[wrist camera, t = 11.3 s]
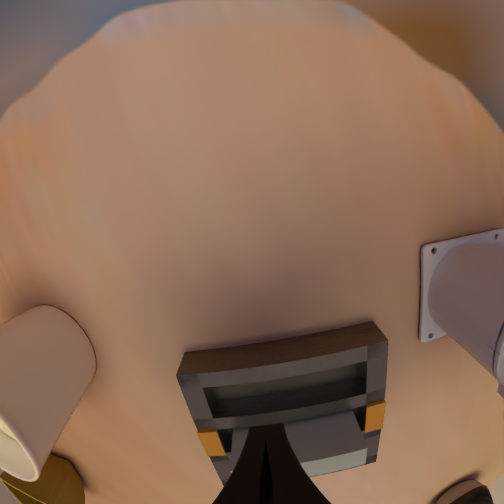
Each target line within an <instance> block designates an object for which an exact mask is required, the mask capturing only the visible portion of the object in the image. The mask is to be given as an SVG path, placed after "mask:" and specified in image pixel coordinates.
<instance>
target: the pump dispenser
mask: <svg viewBox="0 0 504 504" xmlns="http://www.w3.org/2000/svg"><path fill="white" fill-rule="evenodd" d="M436 504H494V503H493V500H492V497H491V494H490V492H489V490H488V488H487V486H486V485H483V484H481V483H480V482H478V481H475V480H468V481H464V482H461V483H458V484H457V485H455V486H453V487H452V488H450V489H449V490H447V491H446V492H445V493H444V494H443V495H442V496H441V497H440V498H439V500H438V501H437V503H436Z"/></svg>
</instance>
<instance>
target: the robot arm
mask: <svg viewBox="0 0 504 504" xmlns="http://www.w3.org/2000/svg"><path fill="white" fill-rule="evenodd" d="M494 237H495V238H494ZM432 248H434V251H433V253H431V250H432ZM430 333H431V335H430V336H428V335H429V334H430ZM445 335H449V336H450V337H452V338H453V339H454V340H455V341H456V342H457V343H458V344H459V345H461V346H462V347H463V348H464V349H465V350H466V351H467V352H468V353H469V354H470V355H471V356H473V357H474V358H475V359H476V360H477V361H478V362H479V363H480V364H481V365H482V366H483V367H484V368H485V369H486V370H487V371H489V372H490V373H491V374H492V375H493V376H494V377H495V378H496V379H497V380H498V382H499V387H498V391H497V392H498V393H499V394H500V395H501V396H502V397H503V398H504V229H502V228H500V229H495V230H491V231H486V232H482V233H477V234H473V235H468V236H463V237H459V238H454V239H449V240H444V241H439V242H435V243H430V244H425V245H424V246H423V247H422V249H421V307H420V326H419V340H420V341H421V342H423V343H424V342H428V341H431V340H434V339H437V338H440V337H443V336H445ZM212 504H331V503H330V502H329V501H328V500H327V499H326V498H325V496H324V495H323V494H322V493H321V492H320V491H319V489H318V488H317V487H316V486H315V485H314V483H313V482H312V481H311V479H310V478H309V476H308V475H307V473H306V472H305V470H304V469H303V467H302V466H301V464H300V462H299V461H298V459H297V457H296V455H295V453H294V451H293V449H292V447H291V445H290V443H289V440H288V438H287V435H286V431H285V426H284V424H282V423H279V424H271V425H264V426H255V427H250V428H249V430H248V434H247V438H246V441H245V444H244V447H243V449H242V452H241V454H240V457H239V459H238V461H237V463H236V466H235V468H234V470H233V472H232V473H231V475H230V477H229V479H228V481H227V483H226V484H225V486H224V487H223V489H222V491H221V492H220V494H219V495H218V497H217V498H216V499H215V501H214V502H213V503H212Z"/></svg>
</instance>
